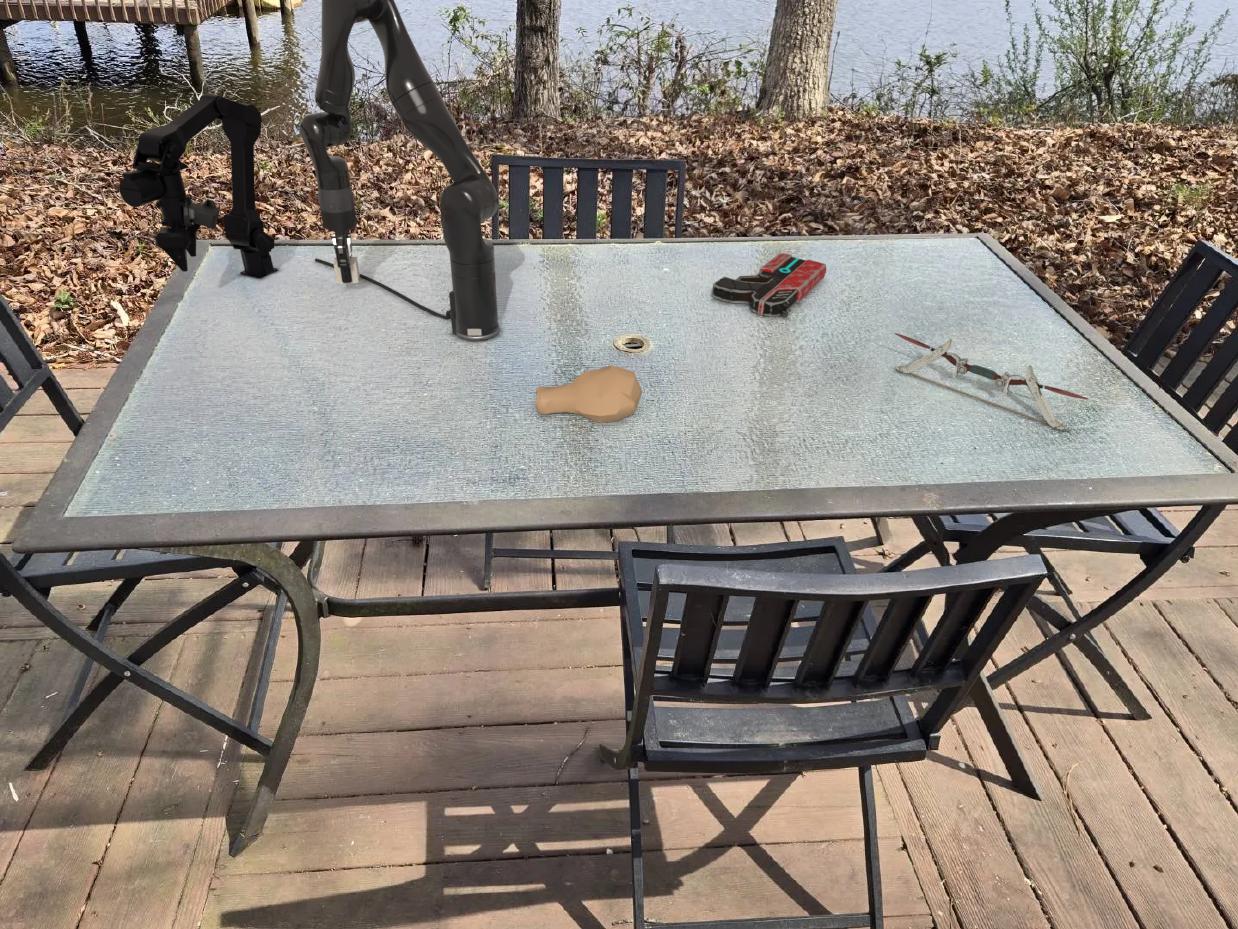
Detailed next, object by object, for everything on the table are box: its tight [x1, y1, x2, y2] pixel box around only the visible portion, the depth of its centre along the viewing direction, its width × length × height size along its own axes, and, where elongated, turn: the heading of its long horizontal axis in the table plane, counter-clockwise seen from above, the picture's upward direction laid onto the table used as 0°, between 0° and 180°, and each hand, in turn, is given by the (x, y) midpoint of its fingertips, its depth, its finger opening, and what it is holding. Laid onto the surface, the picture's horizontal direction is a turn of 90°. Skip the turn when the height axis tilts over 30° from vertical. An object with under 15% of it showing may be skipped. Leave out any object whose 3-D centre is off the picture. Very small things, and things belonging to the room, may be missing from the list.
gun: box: [711, 252, 827, 318], centre depth 215 cm, size 4×31×19 cm
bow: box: [894, 332, 1090, 431], centre depth 170 cm, size 39×2×10 cm, turn 47°
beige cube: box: [333, 256, 360, 285], centre depth 205 cm, size 5×5×5 cm
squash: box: [534, 364, 643, 424], centre depth 162 cm, size 11×20×9 cm, turn 90°
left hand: (189, 263), depth 197 cm, fingers open, 9 cm apart
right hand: (347, 277), depth 206 cm, fingers closed on beige cube, 4 cm apart
